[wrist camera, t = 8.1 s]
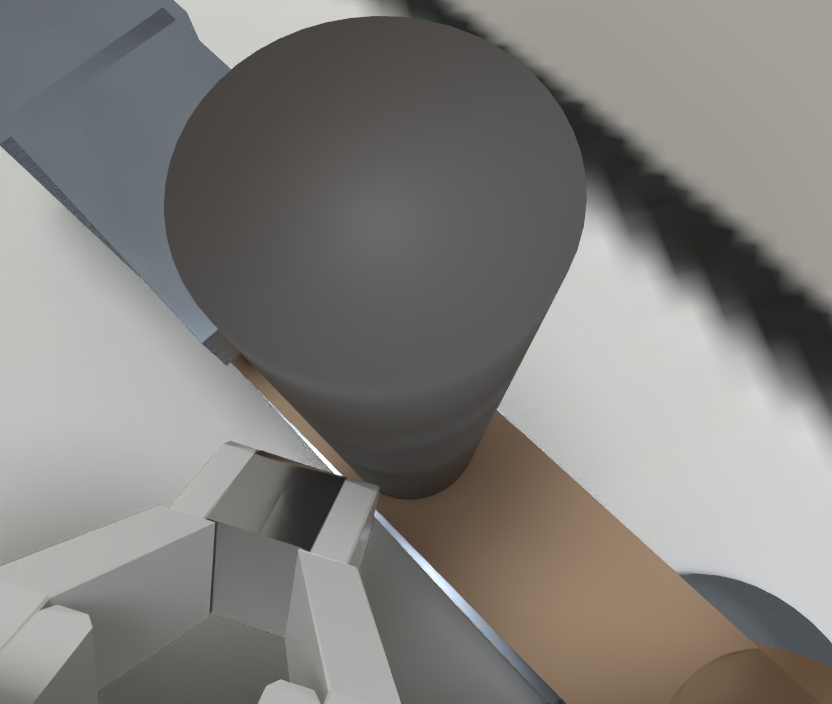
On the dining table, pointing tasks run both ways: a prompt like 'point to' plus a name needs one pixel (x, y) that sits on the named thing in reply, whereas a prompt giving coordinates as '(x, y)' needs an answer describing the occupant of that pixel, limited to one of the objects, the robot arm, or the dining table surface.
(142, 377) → the dining table surface
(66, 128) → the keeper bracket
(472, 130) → the walnut link
